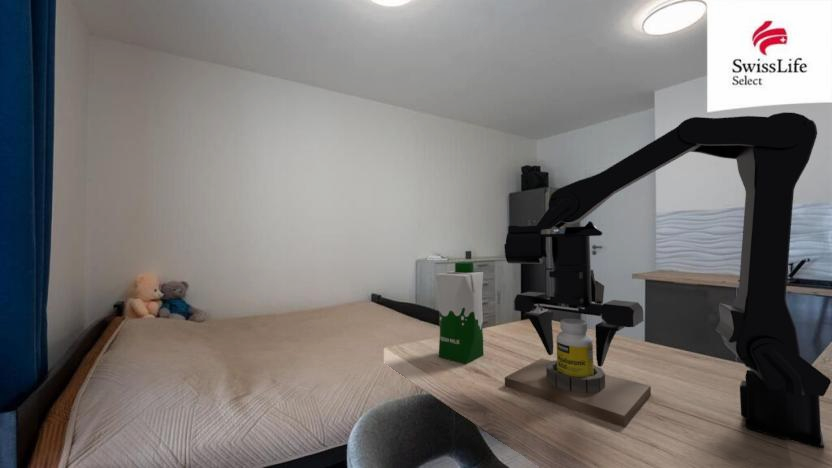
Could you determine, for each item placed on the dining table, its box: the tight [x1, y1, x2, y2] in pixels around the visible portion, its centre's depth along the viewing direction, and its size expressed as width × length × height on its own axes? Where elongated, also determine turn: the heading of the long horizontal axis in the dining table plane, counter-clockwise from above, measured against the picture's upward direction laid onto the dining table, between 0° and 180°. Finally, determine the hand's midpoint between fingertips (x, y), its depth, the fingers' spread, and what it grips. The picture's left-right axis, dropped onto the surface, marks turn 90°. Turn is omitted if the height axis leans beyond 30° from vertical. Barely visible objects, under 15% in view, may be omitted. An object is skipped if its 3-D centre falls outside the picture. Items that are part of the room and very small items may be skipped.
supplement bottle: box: [556, 317, 594, 377], centre depth 55 cm, size 5×5×10 cm
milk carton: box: [434, 261, 485, 365], centre depth 73 cm, size 9×9×20 cm
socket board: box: [504, 358, 652, 428], centre depth 55 cm, size 18×13×4 cm
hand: (574, 359), depth 55 cm, fingers open, 8 cm apart
